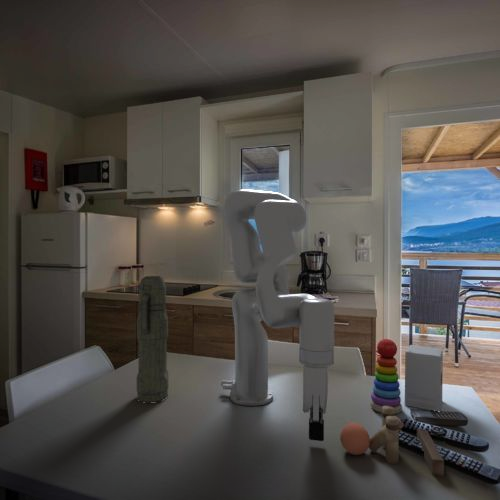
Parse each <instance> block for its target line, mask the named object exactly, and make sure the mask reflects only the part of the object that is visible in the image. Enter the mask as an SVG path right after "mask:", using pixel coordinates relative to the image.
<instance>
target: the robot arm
mask: <svg viewBox="0 0 500 500" xmlns="http://www.w3.org/2000/svg"><path fill="white" fill-rule="evenodd" d="M223 216H224V222H225V224H226V228H227V231H228V235H229V237H230V245H231V255H232V266H233V274H234V277H235V280H236V281H237V282H239V284H240V283H241V284H255V287H248V288H242V289H240V290H237V291H236V292H235V293H234V295H232V298H231V309H232V316H233V323H234V379H232V380H228V379H222V380H221V382H220V385H221V387H222V389H223V390H230V392H229V398H230V400H231V401H232V402H233V403H234V404H237V405H239V406H244V407H245V406H247V407H248V406H249V407H255V406H256V407H257V406H262V405H266V404H269V403H270V402H271V401H273V399H274V392H273V390H272V389H270V388H269V337H268V334H267V333H268V332H267V331H266V329H265V328H264V326H263V324H262V323H261V322H262V321H263V322H264V324H265V325H266V326H267V327H269V328H271V329H283V328H291V327H299V331H298V332H299V333H298V334H299V335H298V336H299V337H298V338H299V340H298V343H299V344H298V345H299V349H298V350H299V351H298V352H299V355H298V357H299V363H300V364H302V365H303V376H302V377H303V379H302V411H303V413H305V414H306V413H309V418H308V440H310V441H319V442H324V439H325V419H324V415H325V414H326V413H327V406H328V405H327V403H328V392H329V367H332V366H333V365H334V364H335V305H334V302H333V301H331V300H330V299H328V298H320V297H316V296H314V295H312V294H309V293H290V290H289V287H290V286H289V282H288V281H289V280H288V272H287V266H286V264H288V263H289V262H290V261H293V260H294V258H295V257H296V256H297V254H298V249H297V245H296V242H295V239H294V235H293V233H299V232H301V231H302V230H303V229H304V228H305V226H306V224H307V213H306V211H305V208H304V207H303V205H302V204H301V203H300V202H298V201H296V200H295V199H292V198H291V197H288V196H287V195H284V194H282V193H280V192H274V191H267V190H256V189H255V190H254V189H237V190H234V191H231V192H230V193H229V194H227V196H226V198H225V201H224V206H223ZM249 220H254V222H255V226H256V228H255V227H254V226H253V224H252V223H250V221H249Z"/></svg>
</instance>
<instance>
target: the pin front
mask: <svg viewBox="0 0 500 500" xmlns="http://www.w3.org/2000/svg"><path fill="white" fill-rule="evenodd" d="M394 417H397V416H396V415H394ZM403 427H404V423H403V422H402V421H401V420H400V419H399V431H401V430H402V429H403ZM385 443H386V425H384V426H383V427H382V426H381V428H380V429H379V430H378V431H377V432H376V433H375V434H374V435H373V436H372V437H370V444H369V447H368V449H369V450H370V451H371V452H372V453H377V452H378V450H379V449H380V448H383V447H382V446H383V445H384V444H385Z"/></svg>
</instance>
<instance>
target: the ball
mask: <svg viewBox="0 0 500 500" xmlns="http://www.w3.org/2000/svg"><path fill="white" fill-rule="evenodd" d="M339 438H340V442H341V446H342V447H343V448H344V451H346V452H347V453H349V454H351V455H353V456H354V455H355V456H358V455H359V456H360V455H363V454H364V453H366V452H367V451H368V449H369V444H370V439H371V437H370V435H369V433H368V430H367V429H366V428H365V427H364V426H363V425H361V424H359V423H355V422H349V423H348V424H346V425H344V427H342V429H341V431H340V435H339Z"/></svg>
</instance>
